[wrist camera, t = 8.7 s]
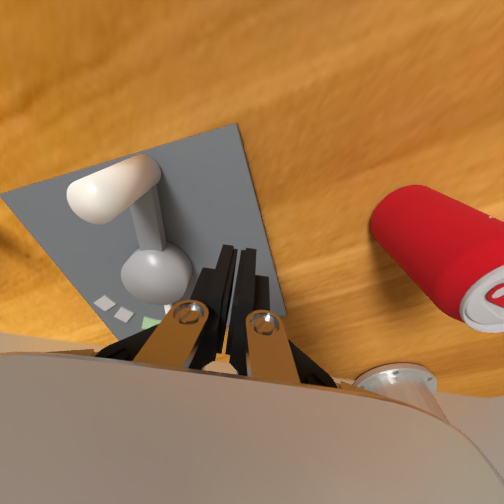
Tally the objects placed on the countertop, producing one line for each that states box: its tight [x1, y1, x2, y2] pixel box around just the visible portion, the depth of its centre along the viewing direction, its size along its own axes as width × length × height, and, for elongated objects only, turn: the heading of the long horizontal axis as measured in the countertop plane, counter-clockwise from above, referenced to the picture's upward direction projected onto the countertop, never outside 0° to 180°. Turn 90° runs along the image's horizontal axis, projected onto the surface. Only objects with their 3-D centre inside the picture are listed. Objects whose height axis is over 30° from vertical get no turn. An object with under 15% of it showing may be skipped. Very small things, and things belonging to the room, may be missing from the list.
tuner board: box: [0, 123, 287, 341], centre depth 25 cm, size 21×22×1 cm
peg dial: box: [67, 154, 192, 314], centre depth 22 cm, size 22×6×8 cm, turn 178°
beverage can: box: [370, 185, 504, 333], centre depth 18 cm, size 6×6×12 cm
